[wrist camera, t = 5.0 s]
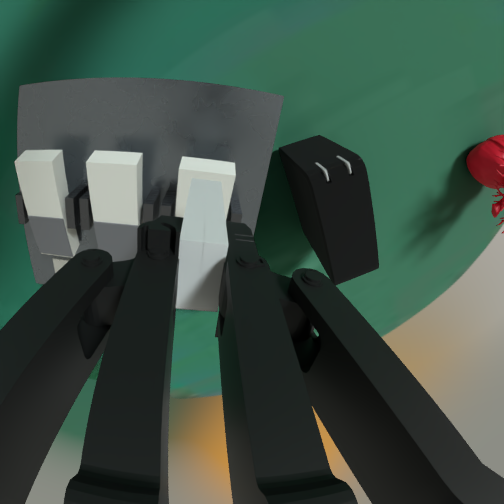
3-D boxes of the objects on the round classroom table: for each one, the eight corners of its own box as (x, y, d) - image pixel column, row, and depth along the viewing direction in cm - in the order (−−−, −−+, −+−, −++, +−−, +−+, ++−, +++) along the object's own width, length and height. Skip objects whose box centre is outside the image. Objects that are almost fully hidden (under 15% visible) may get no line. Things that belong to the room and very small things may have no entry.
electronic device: (303, 233, 32) (335, 290, 23) (276, 146, 26) (308, 176, 18) (338, 220, 31) (380, 272, 23) (317, 133, 26) (365, 158, 18)
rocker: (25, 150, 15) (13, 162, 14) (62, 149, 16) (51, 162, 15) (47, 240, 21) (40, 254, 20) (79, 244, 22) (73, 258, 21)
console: (53, 82, 20) (-2, 88, 12) (269, 94, 24) (295, 97, 16) (57, 252, 29) (24, 301, 21) (233, 271, 33) (241, 329, 25)
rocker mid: (94, 150, 16) (85, 163, 15) (142, 153, 17) (136, 165, 16) (106, 246, 23) (101, 262, 22) (144, 250, 23) (140, 266, 22)
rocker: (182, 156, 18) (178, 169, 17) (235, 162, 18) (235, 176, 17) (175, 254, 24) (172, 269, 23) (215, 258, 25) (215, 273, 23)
